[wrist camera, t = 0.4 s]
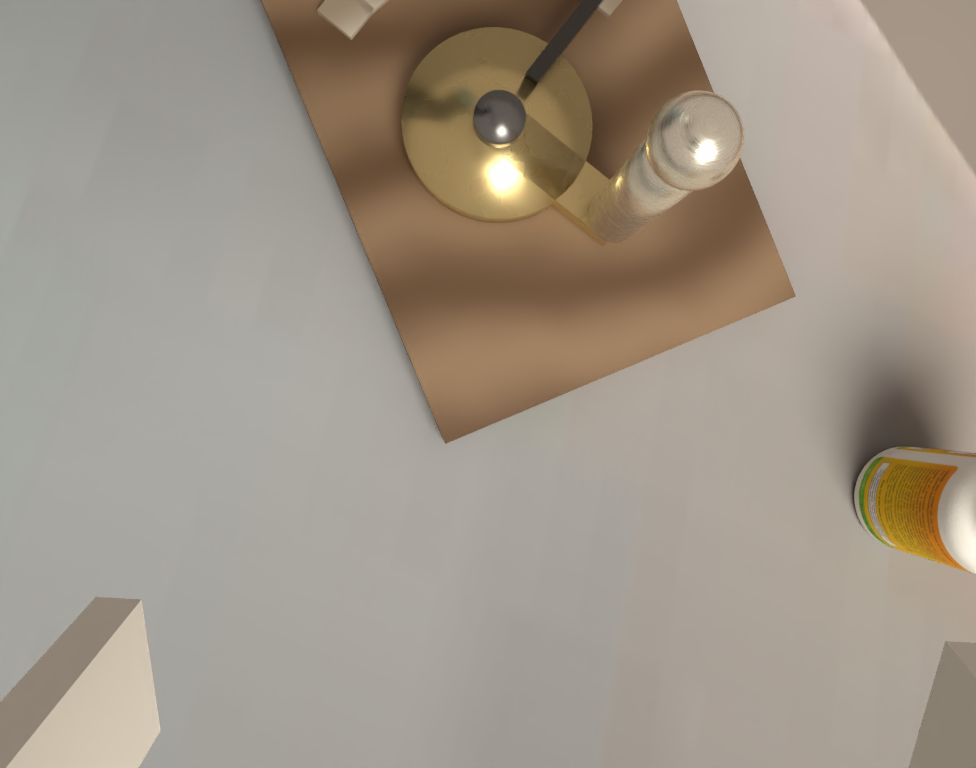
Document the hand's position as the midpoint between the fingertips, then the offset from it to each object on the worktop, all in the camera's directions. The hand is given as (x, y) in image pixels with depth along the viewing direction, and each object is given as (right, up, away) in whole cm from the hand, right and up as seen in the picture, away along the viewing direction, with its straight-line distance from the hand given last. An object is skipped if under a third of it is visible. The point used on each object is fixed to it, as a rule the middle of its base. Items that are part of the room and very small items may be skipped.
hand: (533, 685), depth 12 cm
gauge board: (+1, +17, +25) cm, 30 cm away
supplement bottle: (+21, -1, +26) cm, 34 cm away
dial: (+2, +17, +23) cm, 29 cm away
